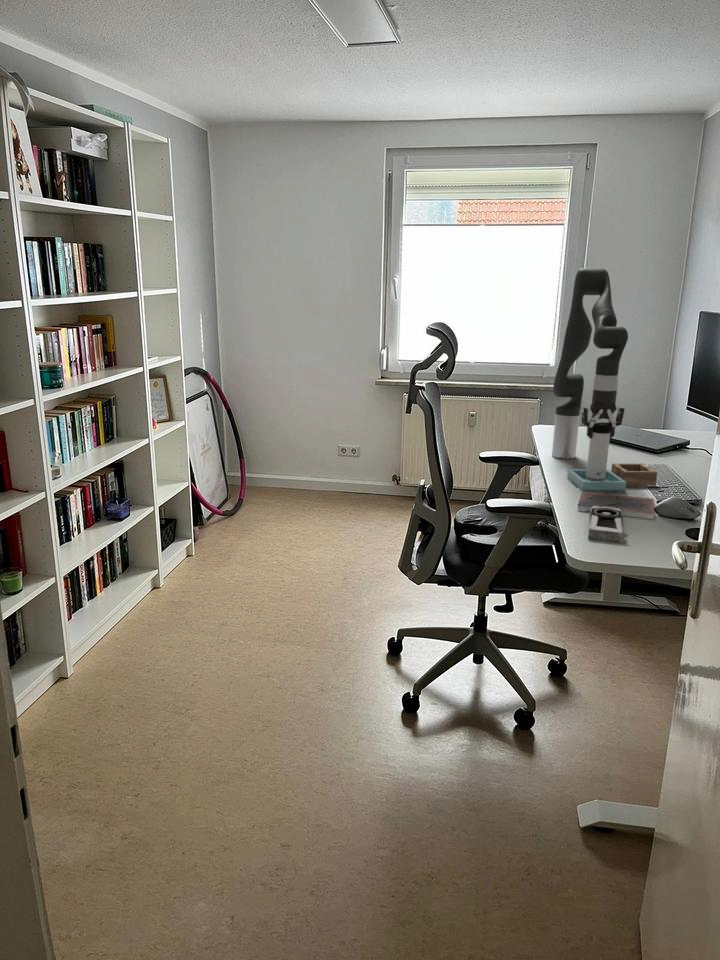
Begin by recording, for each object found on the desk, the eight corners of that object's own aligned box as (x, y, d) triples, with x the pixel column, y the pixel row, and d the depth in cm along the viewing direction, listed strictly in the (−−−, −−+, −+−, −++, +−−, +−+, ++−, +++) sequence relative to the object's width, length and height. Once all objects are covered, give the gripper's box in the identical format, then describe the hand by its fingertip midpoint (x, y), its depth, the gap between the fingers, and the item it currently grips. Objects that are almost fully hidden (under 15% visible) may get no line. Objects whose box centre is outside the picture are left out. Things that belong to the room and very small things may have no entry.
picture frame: (577, 512, 208) (653, 521, 201) (577, 504, 207) (654, 513, 200) (581, 497, 223) (652, 505, 215) (582, 490, 222) (653, 498, 215)
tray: (567, 479, 242) (567, 469, 241) (607, 479, 242) (608, 469, 242) (582, 492, 226) (583, 482, 225) (625, 492, 227) (626, 482, 226)
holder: (610, 476, 245) (612, 463, 244) (640, 476, 245) (642, 463, 244) (623, 486, 234) (625, 472, 232) (655, 486, 234) (657, 472, 233)
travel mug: (602, 483, 230) (609, 424, 224) (583, 479, 234) (589, 422, 228) (608, 479, 235) (615, 422, 229) (589, 475, 238) (595, 419, 233)
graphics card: (589, 529, 183) (590, 503, 206) (587, 541, 184) (589, 513, 207) (628, 534, 180) (625, 506, 203) (627, 546, 181) (624, 517, 204)
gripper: (622, 386, 229) (616, 435, 234) (579, 386, 229) (575, 435, 233) (631, 390, 222) (625, 440, 227) (587, 389, 222) (582, 440, 226)
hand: (600, 437), depth 230 cm, fingers closed on travel mug, 6 cm apart
